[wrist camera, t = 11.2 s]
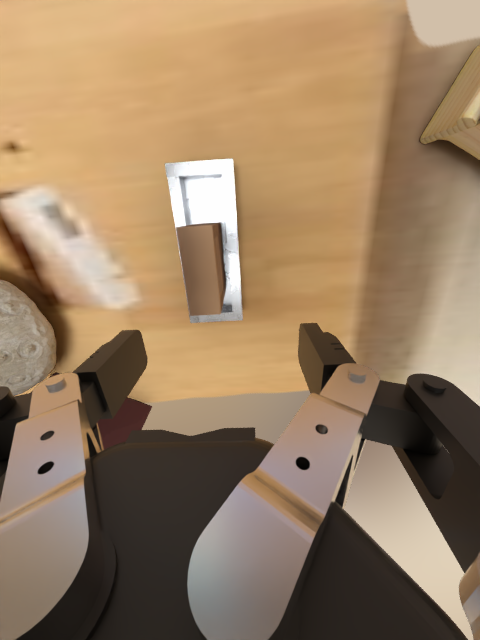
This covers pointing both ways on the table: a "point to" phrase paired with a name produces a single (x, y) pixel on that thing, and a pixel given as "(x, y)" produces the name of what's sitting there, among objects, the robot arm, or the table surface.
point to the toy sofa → (460, 111)
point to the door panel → (203, 267)
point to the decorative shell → (23, 341)
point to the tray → (210, 219)
